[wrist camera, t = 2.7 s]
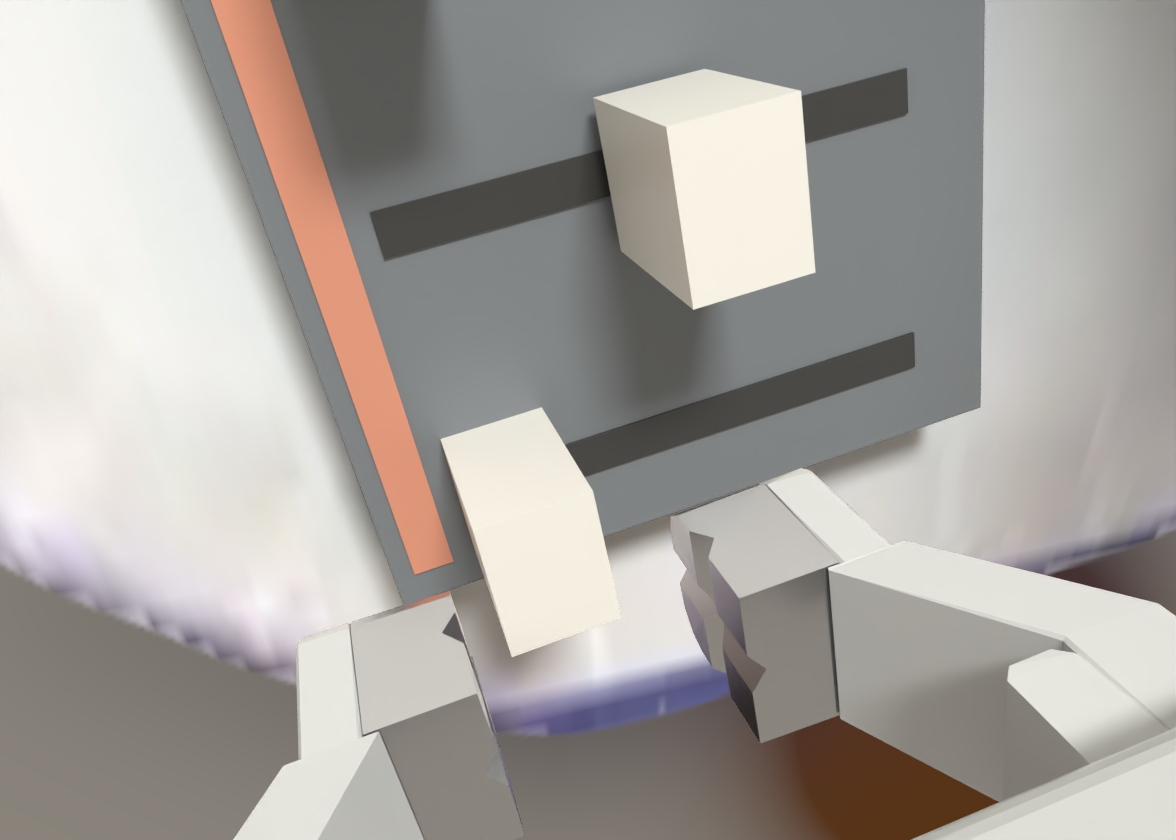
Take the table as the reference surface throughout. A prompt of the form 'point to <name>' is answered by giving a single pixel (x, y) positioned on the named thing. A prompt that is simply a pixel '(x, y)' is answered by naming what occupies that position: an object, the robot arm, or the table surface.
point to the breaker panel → (595, 264)
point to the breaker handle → (709, 183)
